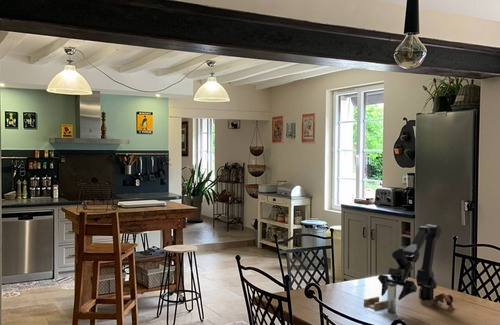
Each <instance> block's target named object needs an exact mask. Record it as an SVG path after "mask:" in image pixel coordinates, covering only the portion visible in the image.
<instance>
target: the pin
mask: <svg viewBox="0 0 500 325" xmlns="http://www.w3.org/2000/svg"><path fill="white" fill-rule="evenodd" d="M387 285H388V289H387V299H386V300H387V307H386V312H387V313H389V314H396V313H397V312H396V311H397V310H396V308H397V286H398V285H397V283H395V282H388V283H387Z"/></svg>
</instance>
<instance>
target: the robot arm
mask: <svg viewBox="0 0 500 325" xmlns="http://www.w3.org/2000/svg"><path fill="white" fill-rule="evenodd" d="M441 234H442V228H441V227H440V226H439V225H437V224H436V225H435V224H428V223H427V224H425V225H421V226H419V227H418V231H417V233H416V234H415V236H414V238H413V239H412V241H411V243H410V244H409V245H408V246H406V247H405V248H401V247H400V248H398V249H396V250H395V251H393V252H392V254H391V256H392V258H393V261H394V262H395V263H396V265H397V267H396V268H393V267H389V268H388V272H387V275H386V274H379V275H378V276H377V279H378V281H379V283H380V284H381V294H380V295H381V296H382V297H384V295H386V292H388V285H387V283H388V282H395V283H397V286H401V287H402V289H401V291H400V294H399V296H398V301H401V300H402V299H403V298H405V297H407V296H408V295H410V294H413V293H416V292H417V291H418V297H419V298H420V299H421V300H423V301H432V300H431V299H432V298H434V290H436V288H437V282H436V279H435V278H434V277H435V273H434V271H433V269H432V268H433V262H434V256H435V250H436V249H435V248H436V243H437V241H439V239H440V236H441ZM424 243H425V246H424V252H423V259H422V265H421V267H420V269H418V270H417V271H416V272H417V273H416V277H415V278H416V283H415V281H413V280H408V279H409V273H410V271H411V270H414V267H413V264H412V263H417V261H418V260H419V258H420V250H421V248H422V247H423V244H424ZM388 275H390V278H389V277H388ZM418 287H419V288H418Z"/></svg>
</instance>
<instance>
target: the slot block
mask: <svg viewBox="0 0 500 325" xmlns="http://www.w3.org/2000/svg"><path fill="white" fill-rule="evenodd" d="M363 306H364V307H367V308H371V309H373V310H381V309H385V308H387V299H386V300H381V301H380V296H374V297H369V298H366V299H363Z"/></svg>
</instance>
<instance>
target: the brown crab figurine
mask: <svg viewBox="0 0 500 325" xmlns="http://www.w3.org/2000/svg"><path fill="white" fill-rule="evenodd" d="M444 300H445V301H444ZM430 301H431V304H432V305H433V306H434V307H436V306H438V303H443V304H444V303H445V302H446V305H447V306H448V307H447V309H448V312H451V311H453V310H454V307H453V302H454V297H453V296H452V295H451V294H446V293H440V294H438V295H436V296H435V295H434V297H433V298H432V299H431V300H430Z"/></svg>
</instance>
